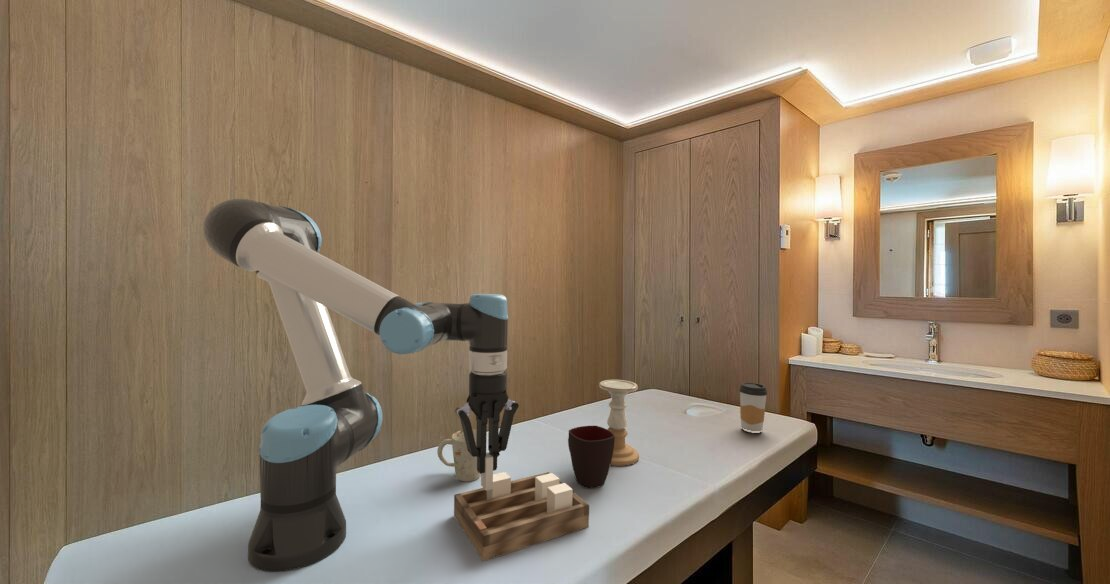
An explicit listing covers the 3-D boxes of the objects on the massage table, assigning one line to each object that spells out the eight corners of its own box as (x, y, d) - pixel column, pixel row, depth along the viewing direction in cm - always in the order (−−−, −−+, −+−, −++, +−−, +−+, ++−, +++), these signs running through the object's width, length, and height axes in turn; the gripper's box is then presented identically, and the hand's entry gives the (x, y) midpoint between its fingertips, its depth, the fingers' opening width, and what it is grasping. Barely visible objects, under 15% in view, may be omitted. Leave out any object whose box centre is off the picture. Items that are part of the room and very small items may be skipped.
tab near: (554, 519, 84) (555, 494, 84) (546, 512, 87) (547, 487, 86) (571, 514, 86) (572, 489, 86) (563, 507, 89) (564, 482, 88)
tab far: (492, 506, 88) (492, 481, 88) (486, 499, 91) (487, 475, 91) (510, 501, 90) (510, 477, 90) (504, 495, 93) (504, 471, 93)
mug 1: (478, 485, 102) (479, 443, 101) (428, 479, 104) (428, 438, 104) (490, 470, 110) (491, 431, 110) (443, 464, 112) (444, 426, 112)
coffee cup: (767, 429, 145) (769, 384, 145) (763, 437, 138) (765, 390, 138) (740, 424, 150) (741, 381, 149) (735, 431, 143) (737, 385, 142)
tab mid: (541, 507, 88) (542, 483, 88) (534, 500, 91) (535, 476, 91) (558, 502, 90) (559, 478, 90) (551, 496, 93) (552, 472, 93)
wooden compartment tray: (483, 561, 75) (483, 534, 75) (453, 515, 89) (454, 493, 89) (588, 526, 86) (589, 503, 86) (548, 491, 100) (548, 470, 100)
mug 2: (583, 496, 98) (584, 443, 98) (554, 471, 110) (555, 424, 110) (619, 487, 103) (620, 436, 102) (587, 464, 115) (588, 418, 115)
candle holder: (590, 463, 116) (592, 387, 115) (597, 445, 128) (599, 377, 127) (637, 469, 113) (640, 391, 112) (640, 450, 125) (642, 380, 124)
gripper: (462, 378, 81) (461, 503, 82) (525, 371, 88) (524, 487, 89) (450, 370, 88) (449, 486, 89) (510, 364, 94) (508, 472, 95)
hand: (486, 486), depth 89 cm, fingers closed
